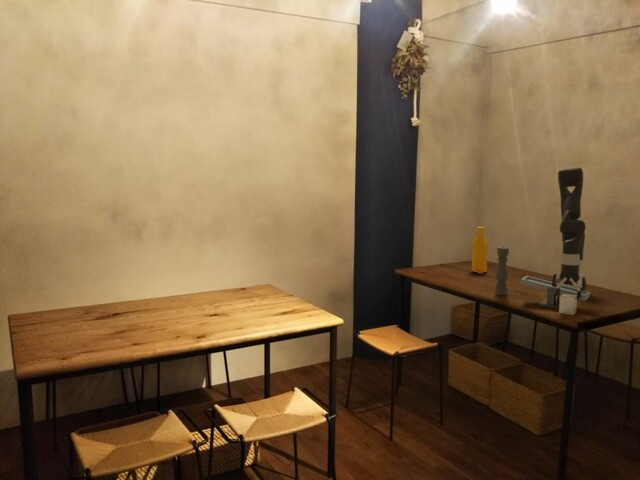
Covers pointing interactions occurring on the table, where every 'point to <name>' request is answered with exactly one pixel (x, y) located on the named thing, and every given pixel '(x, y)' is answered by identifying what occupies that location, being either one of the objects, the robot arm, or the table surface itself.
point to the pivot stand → (551, 299)
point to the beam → (547, 284)
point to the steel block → (568, 304)
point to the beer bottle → (479, 251)
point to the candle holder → (502, 271)
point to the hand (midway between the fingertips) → (568, 297)
